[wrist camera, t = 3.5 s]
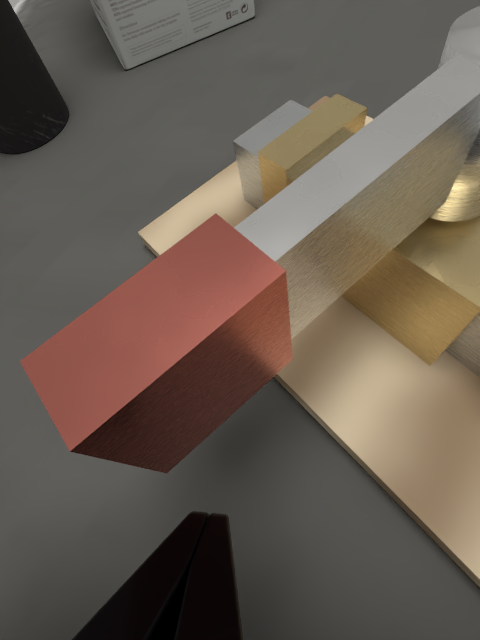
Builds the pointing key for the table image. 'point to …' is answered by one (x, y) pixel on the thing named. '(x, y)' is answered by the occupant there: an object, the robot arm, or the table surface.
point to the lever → (260, 278)
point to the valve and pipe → (399, 264)
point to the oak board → (372, 393)
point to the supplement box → (164, 24)
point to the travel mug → (25, 90)
